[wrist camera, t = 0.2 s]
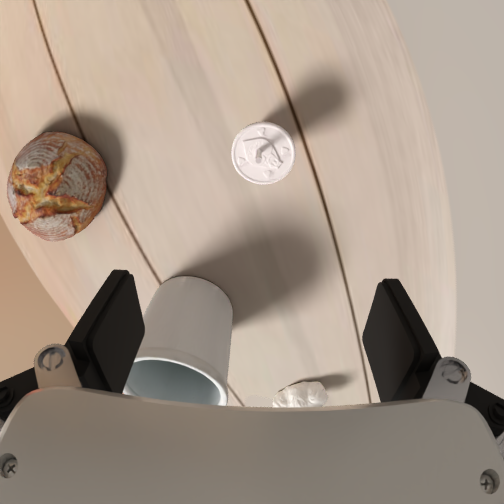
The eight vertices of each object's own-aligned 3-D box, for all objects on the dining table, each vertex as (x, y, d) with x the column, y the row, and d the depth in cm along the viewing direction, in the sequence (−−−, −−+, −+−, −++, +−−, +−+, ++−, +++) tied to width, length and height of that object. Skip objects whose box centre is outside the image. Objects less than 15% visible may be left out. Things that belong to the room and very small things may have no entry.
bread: (132, 202, 44) (106, 235, 35) (47, 240, 47) (19, 273, 39) (86, 104, 35) (47, 117, 27) (6, 162, 39) (-31, 185, 30)
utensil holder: (218, 350, 56) (206, 431, 41) (142, 322, 54) (111, 399, 38) (250, 294, 50) (246, 382, 34) (162, 259, 47) (123, 339, 32)
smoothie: (256, 105, 36) (253, 112, 24) (298, 134, 37) (316, 155, 25) (227, 146, 39) (211, 174, 26) (269, 173, 40) (273, 213, 28)
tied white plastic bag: (274, 389, 65) (287, 435, 61) (262, 392, 59) (276, 443, 54) (325, 374, 63) (339, 421, 58) (319, 376, 56) (334, 428, 51)
